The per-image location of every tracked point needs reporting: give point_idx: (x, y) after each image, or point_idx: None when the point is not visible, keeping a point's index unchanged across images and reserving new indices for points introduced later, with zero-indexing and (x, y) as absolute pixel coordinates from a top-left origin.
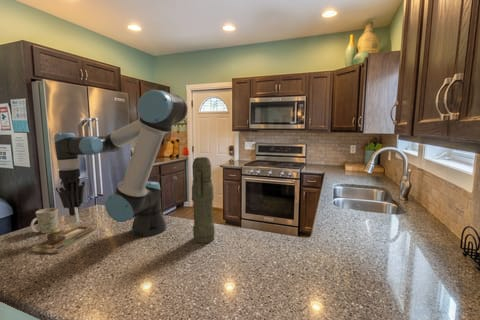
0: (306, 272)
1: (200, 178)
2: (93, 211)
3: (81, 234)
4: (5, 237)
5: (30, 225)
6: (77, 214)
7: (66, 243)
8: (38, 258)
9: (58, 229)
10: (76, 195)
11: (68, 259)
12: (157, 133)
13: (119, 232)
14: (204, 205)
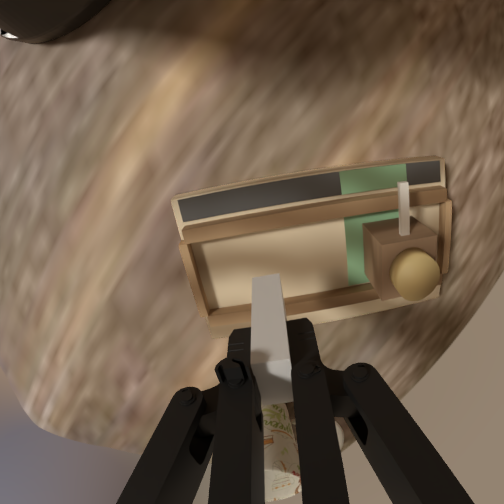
0: None
1: None
2: (62, 410)
3: (271, 210)
4: (341, 451)
5: (343, 440)
6: (264, 312)
7: (390, 177)
8: (474, 198)
9: (419, 260)
10: (243, 490)
11: (453, 59)
12: None
13: (129, 62)
14: None
